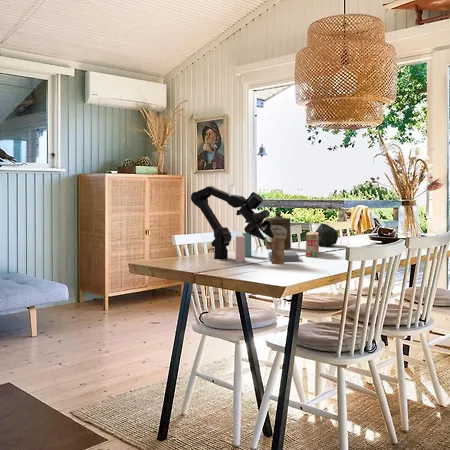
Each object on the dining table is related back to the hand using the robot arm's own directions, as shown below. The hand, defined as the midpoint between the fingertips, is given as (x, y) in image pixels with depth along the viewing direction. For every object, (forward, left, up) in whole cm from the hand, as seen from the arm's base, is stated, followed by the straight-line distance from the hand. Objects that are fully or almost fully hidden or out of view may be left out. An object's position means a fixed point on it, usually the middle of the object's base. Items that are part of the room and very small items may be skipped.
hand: (269, 238), depth 266 cm
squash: (+41, +74, -12) cm, 86 cm away
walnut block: (+4, -3, -12) cm, 13 cm away
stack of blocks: (+26, +32, -12) cm, 43 cm away
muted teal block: (-10, +24, -12) cm, 29 cm away
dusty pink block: (-14, +4, -12) cm, 19 cm away
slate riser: (+8, +11, -12) cm, 18 cm away
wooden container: (+10, +61, -12) cm, 63 cm away
